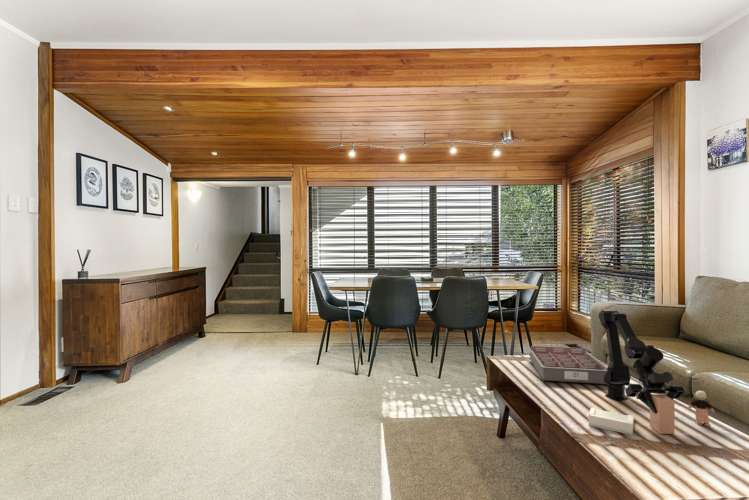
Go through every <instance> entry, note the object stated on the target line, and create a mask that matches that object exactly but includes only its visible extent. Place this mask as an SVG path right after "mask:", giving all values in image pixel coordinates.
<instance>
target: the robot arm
mask: <svg viewBox="0 0 749 500" xmlns="http://www.w3.org/2000/svg"><path fill="white" fill-rule="evenodd" d="M598 319H599V321H600V325H601V326H602V327H603V329H604V330H605V333H606V340H607V347H608V354H609V363H608V365H607V366H606V367H607V373H606V375H605V376H604V382H605V383H607V384H606V385H607V394H605V395H604V396H605V397H607V398H610V399H611V400H615V401H624V400H628V399H629V398H636V400H640V401H641V402H642V403H643V404H644V405H645V406H646V407H648V408H649V410H650V409H651V410H652V411H653V412H654V413H655V414H657V410H656V407H655V405H654V403H653V401H652V398H651V394H659V395H666V396H667V397H669V398H671V399H672V400H674V399H675V400H677V399H680V398H681V397H682V396H684V394H685V393H687V392H686V390H685V388H684V386H682V385H679V384H676V385H675V384H670V382H672V381H674V378H673V375H672V373H671V371H664V372H662V373H658V372H656V371H655V369H654V368H656V367H657V366H658V365H659V364H660V363H661V361H662V360H664V353H663V352H662V351H661V350H660V349H658V348H657V347H654V345H653V344H647V345H646V344H645V342H644V341H642V340H641V339H639V338H638V337H637V335H636V334H635V331H634V330H633V327H632V326H631V324H630V322H629V320H628V317H627V314H626V313H624V312H619V311H618V310H617V309H614V310H613V309H602V310H601V311H599V313H598ZM619 333H620V335H621V337H622V340H623V341H624V347H623V349H624V352H625V355H626V357H627V358H628V359H631V360H635V361H634V362H633V365H632V368H633V369H635V370H636V372H637V375H638V377H639V378H638V381H639V383H630V381H631V373H630V368H629V367H630V366H629V365H626V364H625V362H624V360H623V354H622V348H621V342H620V336H619ZM640 383H641V384H640ZM666 384H670V385H669V386H668V387H667V388H666V387H665V386H666ZM625 386H627V387H626V388H625ZM663 387H665V388H663Z"/></svg>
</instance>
